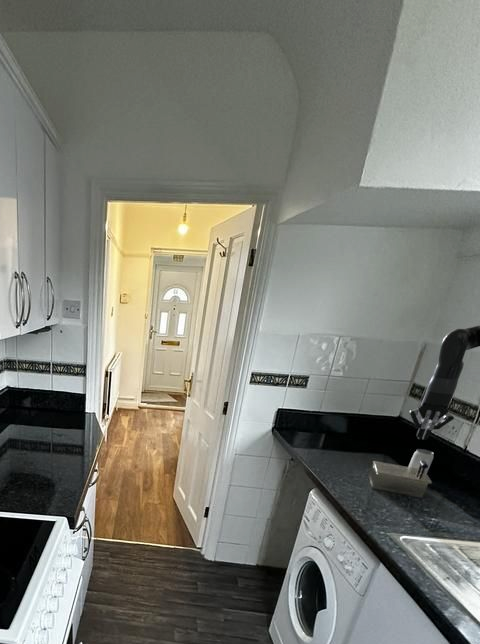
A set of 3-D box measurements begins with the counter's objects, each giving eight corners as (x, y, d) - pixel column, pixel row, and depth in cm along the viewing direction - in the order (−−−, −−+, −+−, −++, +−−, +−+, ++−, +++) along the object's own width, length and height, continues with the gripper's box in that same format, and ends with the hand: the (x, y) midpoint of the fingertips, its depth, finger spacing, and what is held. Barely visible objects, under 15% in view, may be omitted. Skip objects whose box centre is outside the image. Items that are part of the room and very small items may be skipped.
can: (407, 474, 174) (418, 447, 169) (425, 479, 169) (437, 452, 164) (402, 477, 170) (413, 450, 165) (420, 483, 166) (432, 455, 160)
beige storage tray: (414, 485, 163) (420, 471, 161) (422, 498, 152) (428, 483, 149) (368, 476, 170) (372, 462, 167) (371, 488, 158) (376, 474, 156)
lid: (422, 471, 161) (428, 458, 158) (431, 484, 149) (437, 469, 147) (372, 462, 167) (377, 449, 165) (376, 474, 156) (381, 460, 153)
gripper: (418, 389, 141) (401, 438, 148) (468, 395, 136) (447, 445, 143) (414, 386, 147) (397, 433, 154) (461, 391, 142) (441, 439, 149)
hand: (421, 438), depth 148 cm, fingers closed
